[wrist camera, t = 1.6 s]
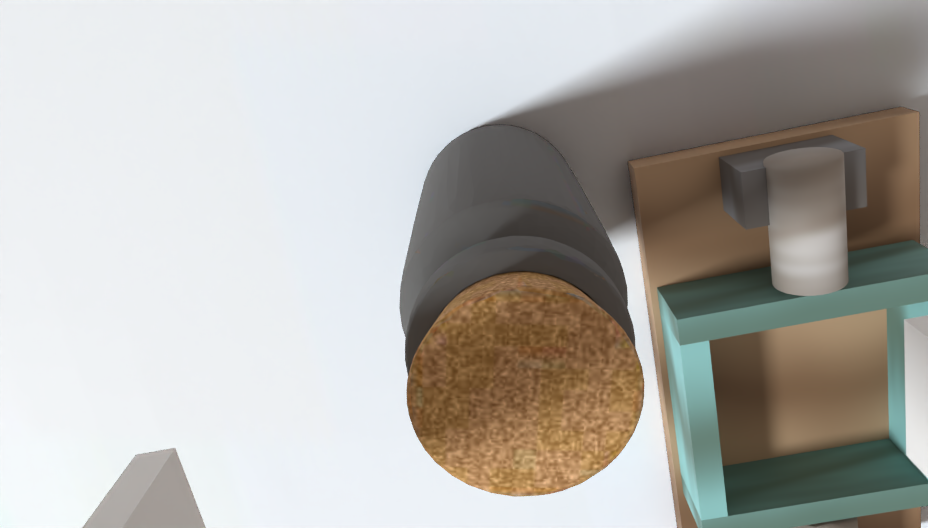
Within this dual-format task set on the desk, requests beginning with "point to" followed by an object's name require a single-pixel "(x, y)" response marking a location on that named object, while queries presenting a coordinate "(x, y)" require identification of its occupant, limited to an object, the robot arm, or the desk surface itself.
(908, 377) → the robot arm
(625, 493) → the desk surface
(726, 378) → the block
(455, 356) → the bottle
